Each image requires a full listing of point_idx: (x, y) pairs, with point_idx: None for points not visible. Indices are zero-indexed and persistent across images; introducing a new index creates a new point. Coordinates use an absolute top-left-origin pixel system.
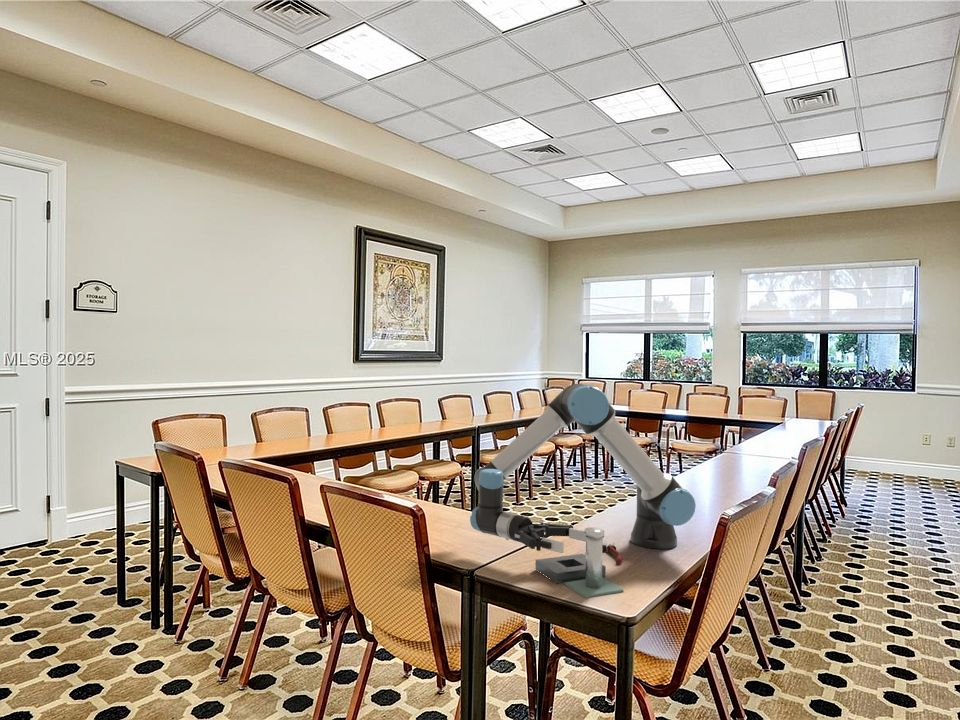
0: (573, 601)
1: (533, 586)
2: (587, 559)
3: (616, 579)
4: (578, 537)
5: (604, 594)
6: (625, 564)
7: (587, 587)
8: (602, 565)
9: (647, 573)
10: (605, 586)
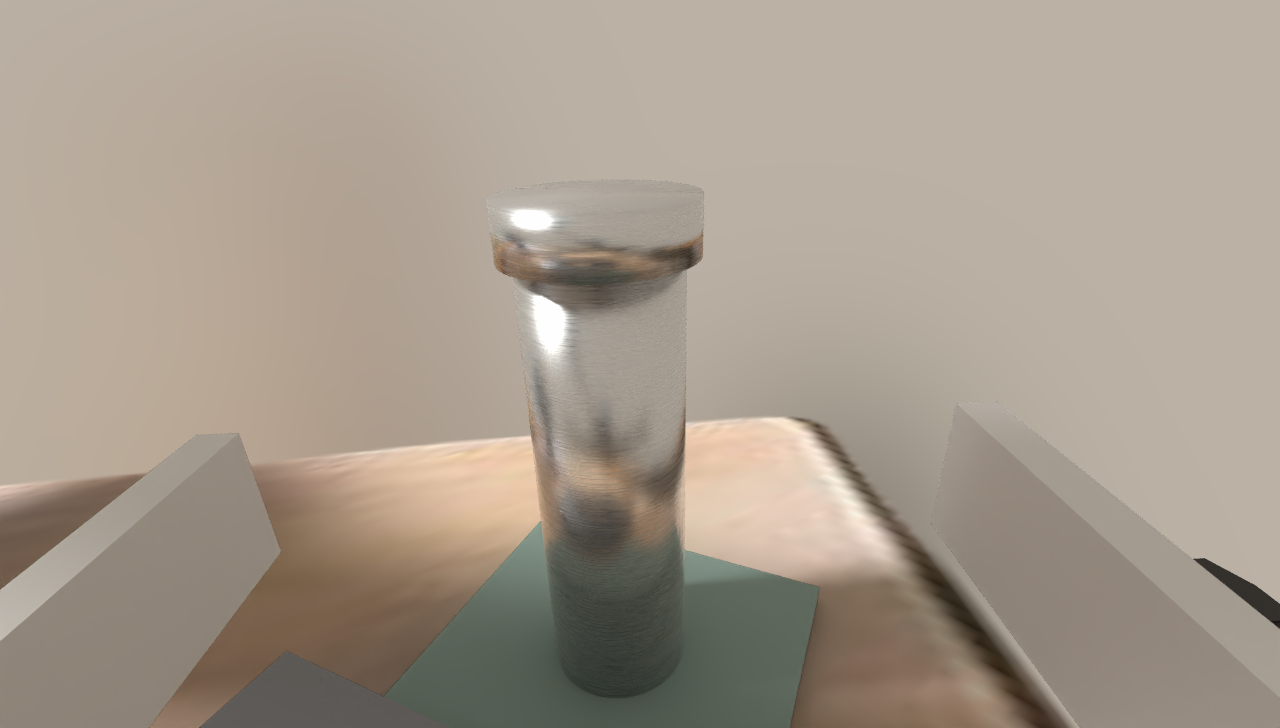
0: (934, 615)
1: None
2: (683, 470)
3: (339, 637)
4: (141, 676)
5: None
6: None
7: (685, 650)
8: (266, 682)
9: None
10: None
